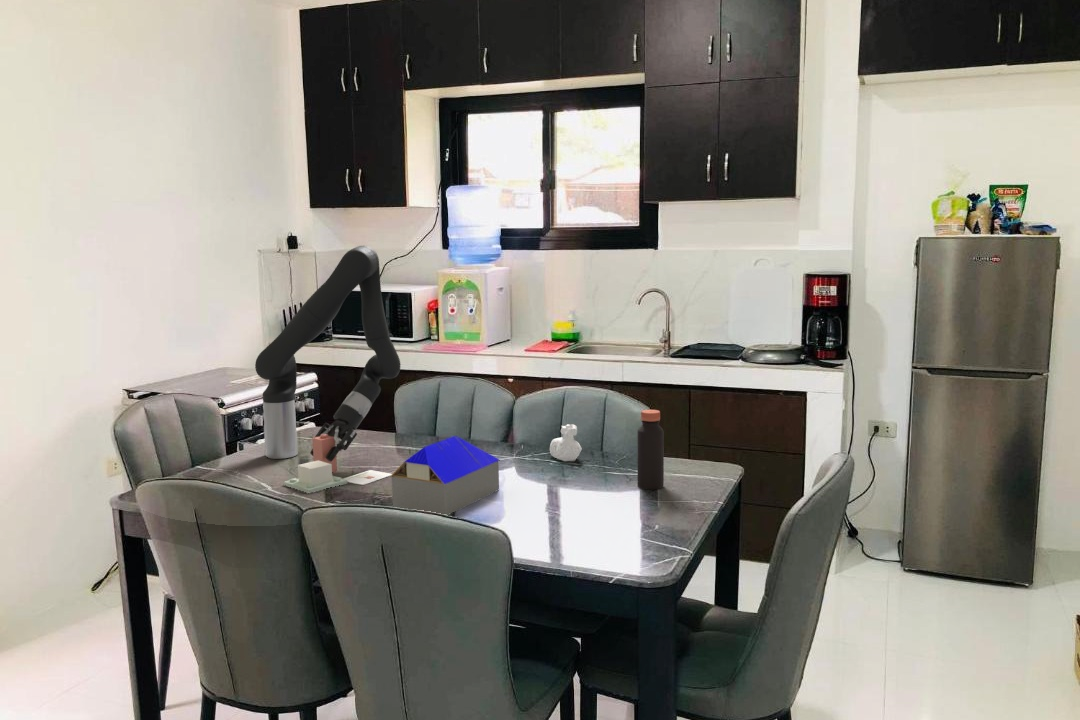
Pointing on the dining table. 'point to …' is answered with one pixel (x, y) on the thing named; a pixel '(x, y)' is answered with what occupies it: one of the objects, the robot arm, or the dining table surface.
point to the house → (445, 477)
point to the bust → (566, 444)
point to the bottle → (650, 451)
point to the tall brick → (324, 449)
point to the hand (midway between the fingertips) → (320, 457)
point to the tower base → (314, 487)
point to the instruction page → (367, 477)
